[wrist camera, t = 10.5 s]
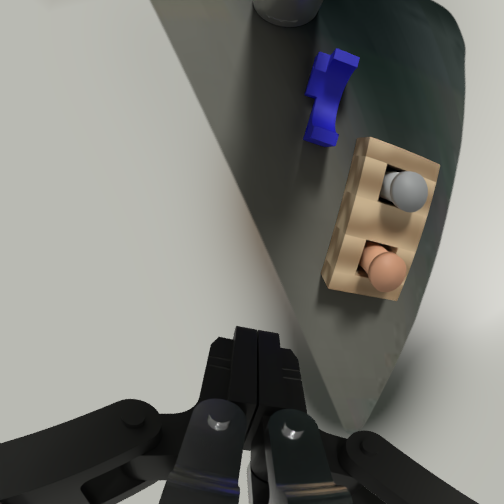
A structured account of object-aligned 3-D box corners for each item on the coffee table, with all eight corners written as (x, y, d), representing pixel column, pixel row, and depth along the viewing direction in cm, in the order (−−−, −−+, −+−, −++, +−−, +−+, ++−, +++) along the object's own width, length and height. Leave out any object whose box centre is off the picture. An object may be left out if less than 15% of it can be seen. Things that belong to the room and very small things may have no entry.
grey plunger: (375, 162, 37) (399, 166, 29) (403, 173, 37) (431, 179, 30) (366, 196, 38) (389, 206, 31) (395, 205, 38) (421, 216, 31)
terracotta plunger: (358, 233, 39) (379, 251, 32) (387, 240, 39) (411, 259, 32) (348, 265, 41) (365, 288, 33) (376, 271, 41) (398, 294, 34)
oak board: (357, 138, 36) (370, 136, 32) (422, 162, 37) (440, 164, 32) (320, 273, 43) (328, 288, 38) (384, 286, 43) (396, 300, 39)
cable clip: (314, 58, 33) (324, 43, 27) (345, 69, 33) (359, 57, 28) (291, 136, 37) (298, 133, 31) (324, 146, 37) (335, 146, 32)
